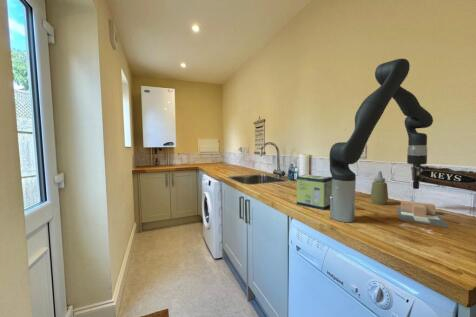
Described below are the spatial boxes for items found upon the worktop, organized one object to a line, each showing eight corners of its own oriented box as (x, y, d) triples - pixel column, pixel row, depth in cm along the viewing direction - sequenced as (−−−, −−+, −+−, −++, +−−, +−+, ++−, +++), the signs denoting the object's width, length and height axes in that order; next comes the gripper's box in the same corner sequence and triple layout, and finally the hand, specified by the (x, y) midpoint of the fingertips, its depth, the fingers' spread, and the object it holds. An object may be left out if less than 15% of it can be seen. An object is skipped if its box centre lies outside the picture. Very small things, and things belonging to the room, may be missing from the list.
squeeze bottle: (373, 205, 110) (374, 172, 109) (367, 201, 118) (368, 170, 117) (390, 206, 108) (392, 172, 107) (384, 202, 116) (385, 170, 115)
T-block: (402, 214, 95) (402, 205, 95) (400, 208, 104) (400, 200, 104) (438, 219, 88) (438, 209, 88) (433, 212, 97) (433, 204, 97)
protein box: (305, 200, 121) (305, 174, 121) (332, 206, 110) (332, 177, 110) (295, 204, 114) (296, 176, 113) (324, 210, 103) (324, 179, 102)
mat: (400, 221, 88) (400, 219, 88) (396, 207, 106) (396, 206, 106) (449, 228, 79) (449, 227, 79) (436, 212, 98) (436, 211, 98)
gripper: (406, 153, 112) (405, 185, 113) (408, 154, 101) (407, 190, 102) (424, 154, 107) (423, 187, 108) (429, 155, 96) (428, 192, 97)
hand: (415, 188), depth 105 cm, fingers closed
